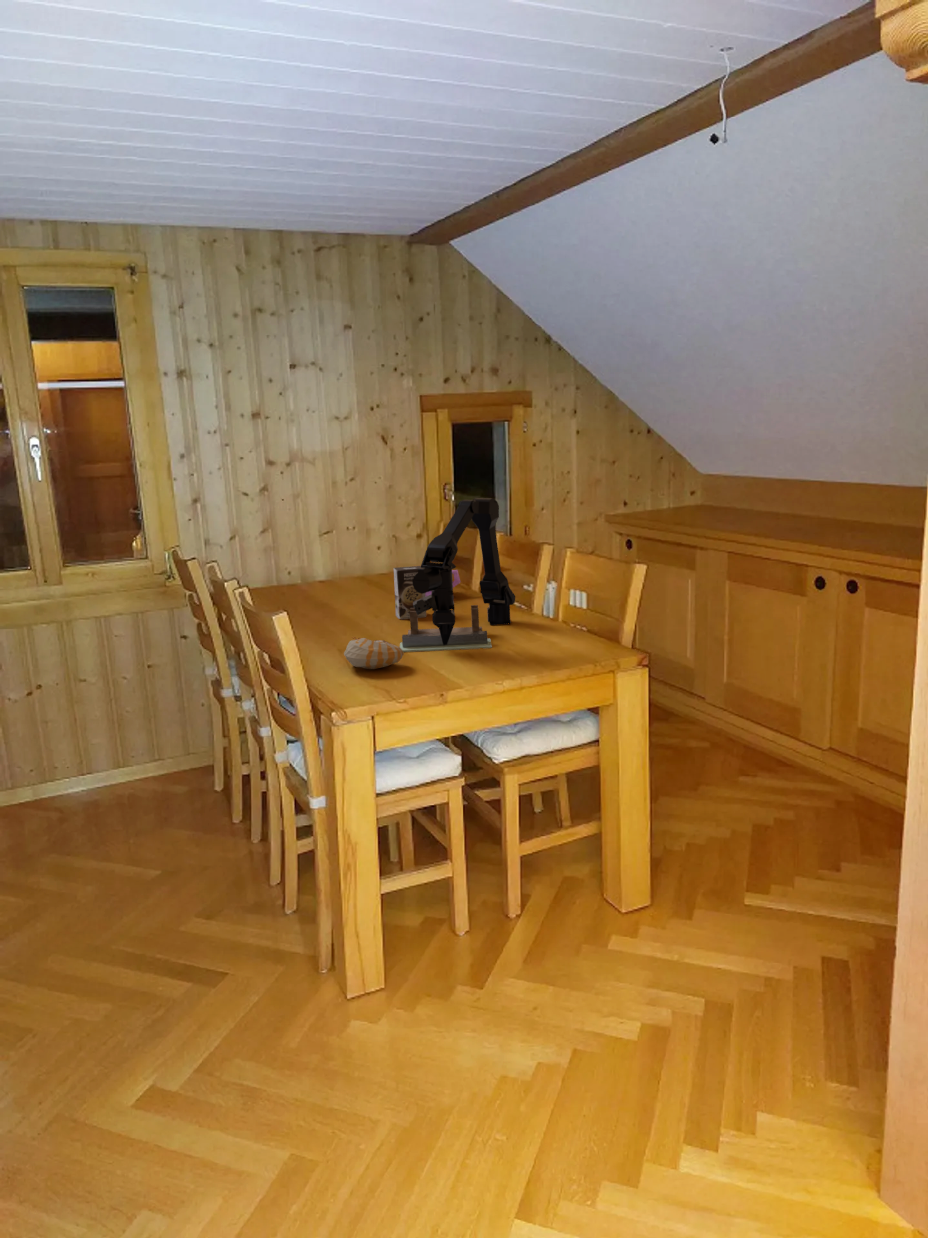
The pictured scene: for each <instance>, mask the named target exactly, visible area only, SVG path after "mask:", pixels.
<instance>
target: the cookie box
mask: <svg viewBox="0 0 928 1238" xmlns="http://www.w3.org/2000/svg"><path fill="white" fill-rule="evenodd" d="M419 568H421V565H416V566H415V565H414V566H403V567H402V566H401V567H393V582H394V602H395V607H394V608H395V617H396V618H397V619H398V620H399V619H401V620H408V619H409V620H410V608H414V606H413V602H414V601H416V600H419V599H421V598H423V597H426V596H425V593H423V594H421V593H418V592H417V591H416V590H415V589H414V587H413V583H412V581H413V578H414V576H415V575H416V574H417V573H418V569H419ZM417 616H418V619H421V618H426V617H427V611H424V612H422V613H421V614H419V615H417Z"/></svg>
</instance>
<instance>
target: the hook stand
mask: <svg viewBox="0 0 928 1238" xmlns="http://www.w3.org/2000/svg"><path fill="white" fill-rule="evenodd" d="M470 611H471V613H470V614H471V616H470V617H471V618H470V619H471V626H467V627H453V629H452V632H473V631H483V626H480V619H479V605H478V604H474V605H473V604H471V605H470ZM418 619H419V618H418V616H417V613H416V611H415V608H410V619H409V623H410V629H407V631H408V632H407V634H429V633H440V631H439V628H422V629H420V628H419V620H418Z"/></svg>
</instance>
